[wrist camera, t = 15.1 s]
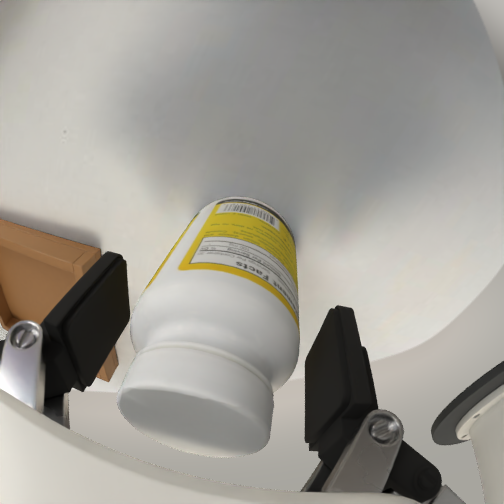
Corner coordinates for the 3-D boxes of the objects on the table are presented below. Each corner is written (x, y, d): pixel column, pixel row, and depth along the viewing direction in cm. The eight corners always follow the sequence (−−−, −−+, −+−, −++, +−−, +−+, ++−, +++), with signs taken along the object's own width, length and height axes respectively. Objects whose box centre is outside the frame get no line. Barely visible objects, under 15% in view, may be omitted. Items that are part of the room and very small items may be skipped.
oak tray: (100, 248, 16) (81, 266, 14) (118, 364, 21) (108, 382, 20) (-16, 213, 16) (-33, 224, 14) (13, 315, 21) (2, 328, 20)
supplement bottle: (221, 301, 16) (171, 464, 8) (170, 220, 14) (53, 370, 6) (312, 270, 15) (324, 458, 6) (267, 175, 13) (225, 338, 4)
